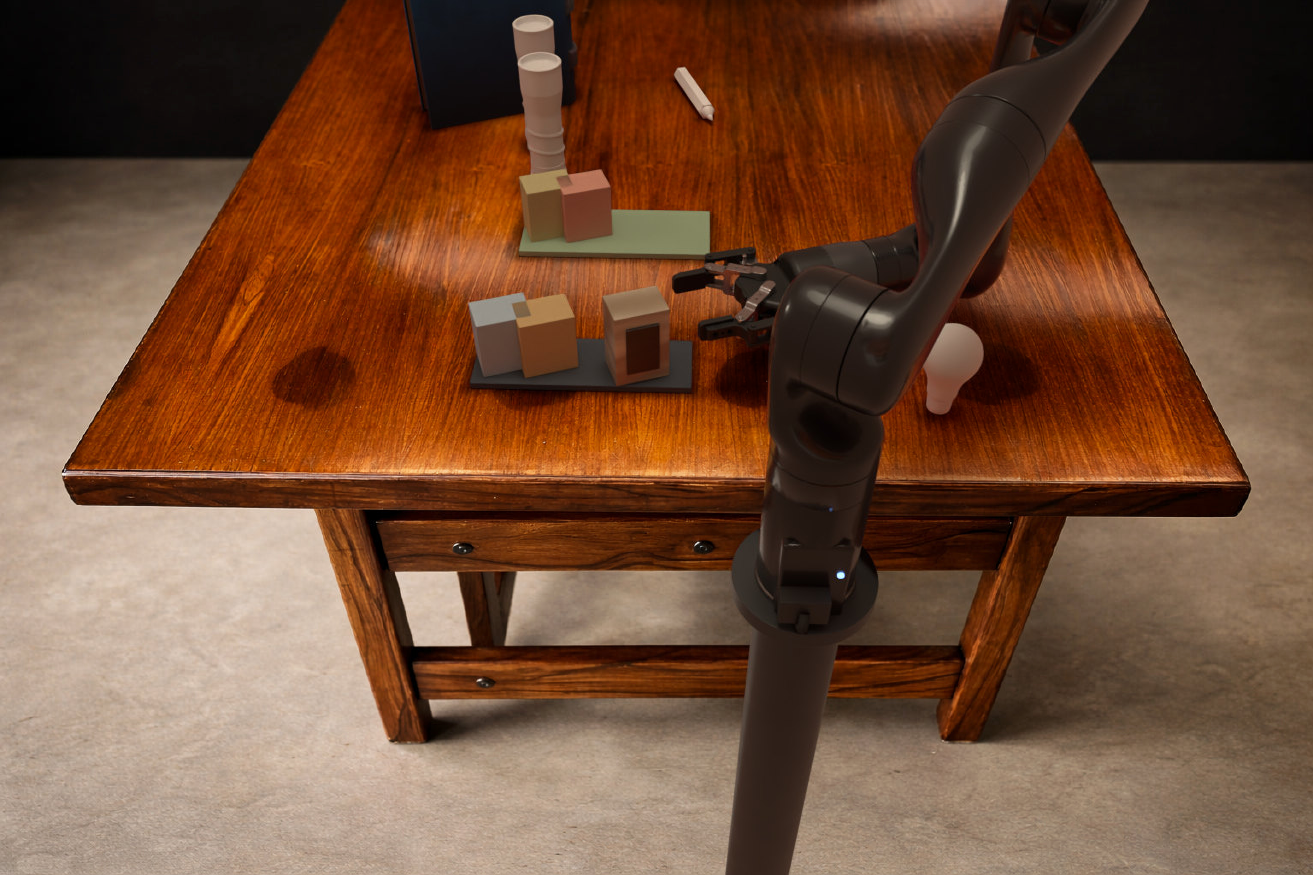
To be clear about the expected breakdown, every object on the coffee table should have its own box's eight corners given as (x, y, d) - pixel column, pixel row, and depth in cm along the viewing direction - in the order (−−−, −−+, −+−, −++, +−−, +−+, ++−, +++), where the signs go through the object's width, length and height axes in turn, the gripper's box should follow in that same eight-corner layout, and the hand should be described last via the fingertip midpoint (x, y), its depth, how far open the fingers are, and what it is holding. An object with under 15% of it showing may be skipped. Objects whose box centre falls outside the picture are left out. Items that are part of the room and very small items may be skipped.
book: (568, 78, 164) (553, -130, 143) (585, 101, 158) (573, -111, 137) (419, 104, 158) (381, -108, 137) (432, 130, 152) (394, -88, 131)
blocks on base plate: (691, 393, 110) (693, 337, 105) (470, 388, 111) (460, 332, 106) (692, 346, 116) (693, 290, 111) (481, 341, 117) (472, 286, 111)
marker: (711, 131, 153) (679, 83, 164) (723, 123, 153) (690, 75, 163) (703, 118, 151) (671, 71, 162) (715, 110, 151) (682, 63, 162)
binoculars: (571, 197, 139) (563, 69, 126) (531, 200, 138) (518, 72, 125) (560, 135, 151) (551, 13, 138) (523, 138, 150) (511, 16, 138)
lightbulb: (978, 417, 108) (1003, 336, 100) (935, 439, 105) (956, 357, 98) (938, 385, 111) (958, 303, 104) (895, 405, 109) (913, 323, 101)
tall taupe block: (670, 377, 111) (670, 310, 105) (617, 388, 110) (614, 322, 103) (657, 350, 114) (656, 285, 108) (605, 361, 113) (602, 295, 107)
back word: (709, 260, 128) (711, 205, 123) (518, 256, 129) (512, 202, 123) (709, 216, 135) (711, 163, 130) (528, 213, 136) (523, 160, 130)
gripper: (802, 216, 114) (664, 241, 111) (858, 289, 104) (709, 319, 101) (796, 271, 119) (664, 297, 116) (849, 345, 110) (706, 376, 106)
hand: (685, 307), depth 108 cm, fingers open, 8 cm apart
